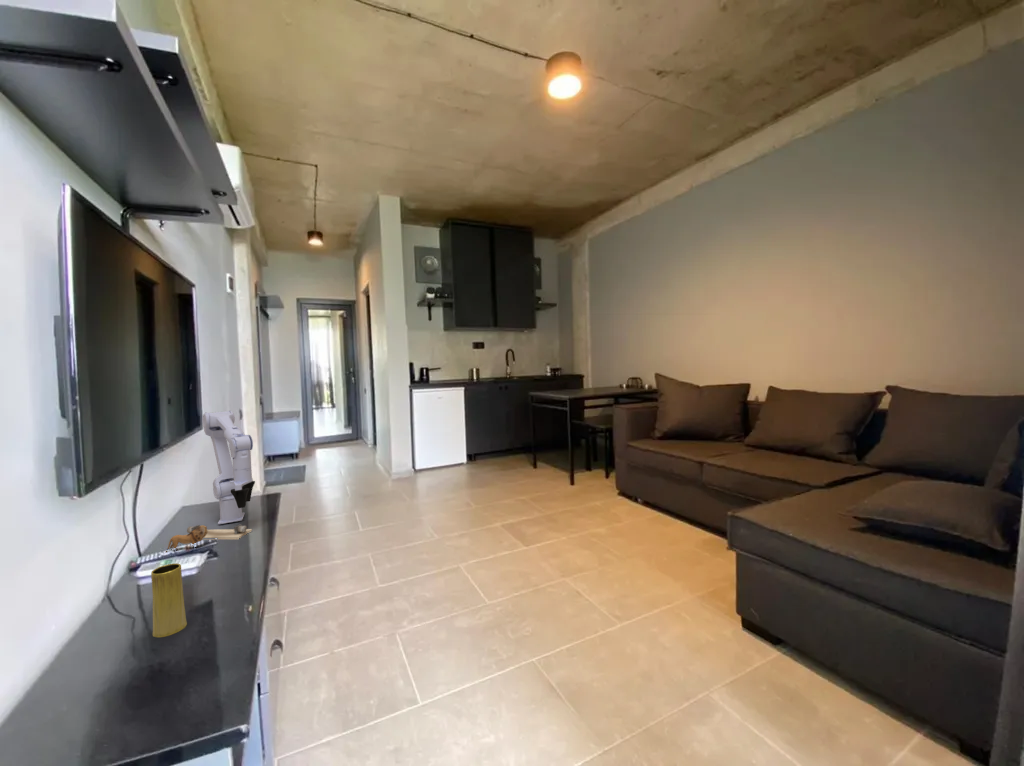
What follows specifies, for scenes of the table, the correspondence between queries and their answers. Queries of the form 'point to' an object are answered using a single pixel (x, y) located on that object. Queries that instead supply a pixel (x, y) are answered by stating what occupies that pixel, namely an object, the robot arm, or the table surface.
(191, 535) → the lion figurine
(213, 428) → the robot arm
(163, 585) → the vase
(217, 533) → the shaft rig
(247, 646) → the table surface
